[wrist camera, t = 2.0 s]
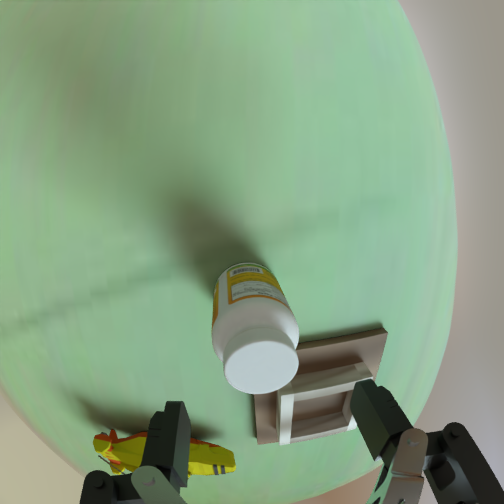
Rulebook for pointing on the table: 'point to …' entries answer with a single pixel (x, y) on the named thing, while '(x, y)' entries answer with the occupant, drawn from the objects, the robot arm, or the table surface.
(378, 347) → the jig board
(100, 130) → the table surface
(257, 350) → the supplement bottle
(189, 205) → the table surface
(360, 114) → the table surface
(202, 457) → the toy boat
